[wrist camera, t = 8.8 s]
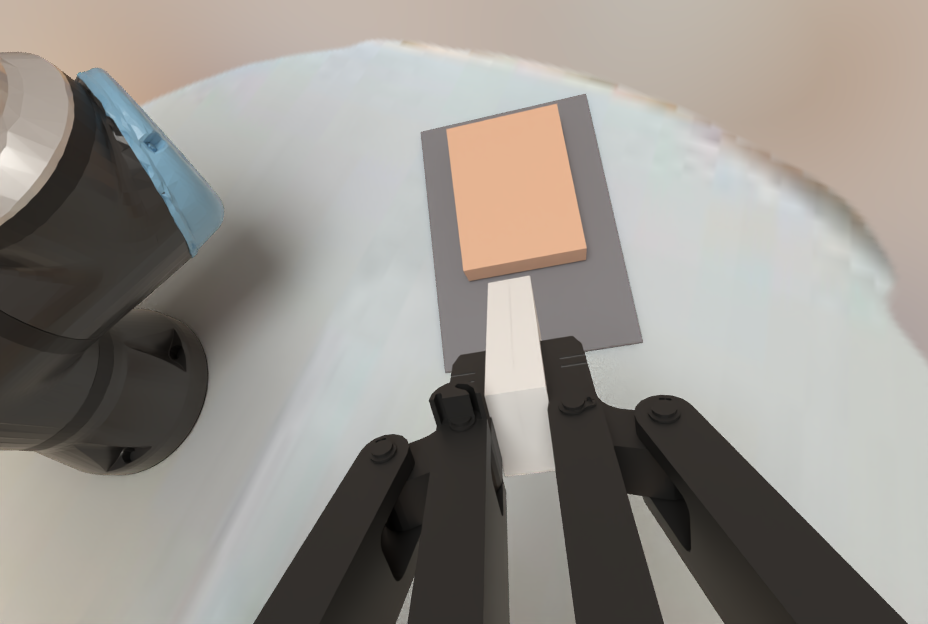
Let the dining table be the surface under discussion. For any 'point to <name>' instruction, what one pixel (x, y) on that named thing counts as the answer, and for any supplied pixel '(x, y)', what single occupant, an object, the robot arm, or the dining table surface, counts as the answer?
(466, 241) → the tile
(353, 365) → the dining table surface
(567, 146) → the mat
